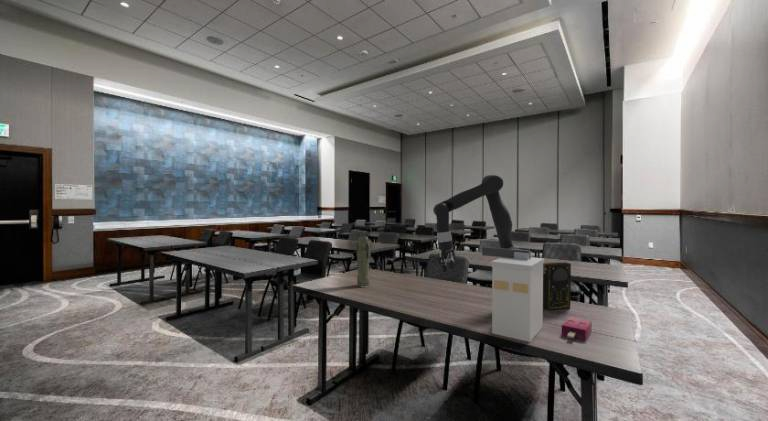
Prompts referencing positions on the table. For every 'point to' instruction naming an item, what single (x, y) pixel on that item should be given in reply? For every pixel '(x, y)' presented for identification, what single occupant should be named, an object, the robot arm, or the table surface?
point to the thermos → (363, 261)
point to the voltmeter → (556, 285)
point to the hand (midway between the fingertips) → (448, 270)
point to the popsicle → (577, 328)
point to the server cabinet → (517, 297)
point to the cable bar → (507, 253)
